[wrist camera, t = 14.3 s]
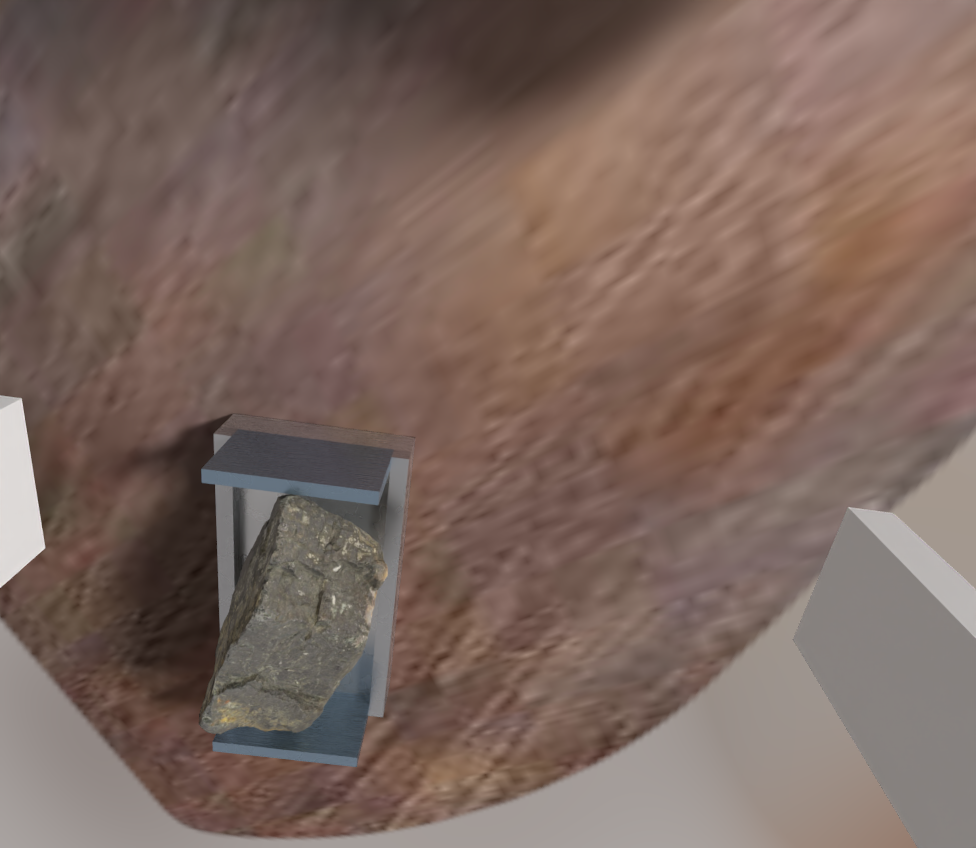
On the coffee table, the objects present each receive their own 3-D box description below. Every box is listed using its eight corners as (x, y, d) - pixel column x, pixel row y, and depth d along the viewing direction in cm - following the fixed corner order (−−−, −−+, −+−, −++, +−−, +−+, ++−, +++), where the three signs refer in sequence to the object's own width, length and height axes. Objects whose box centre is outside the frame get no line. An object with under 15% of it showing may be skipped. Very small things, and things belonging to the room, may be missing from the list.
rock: (372, 742, 41) (201, 763, 38) (364, 646, 46) (213, 658, 43) (404, 572, 30) (171, 584, 28) (390, 472, 35) (192, 473, 33)
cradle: (233, 413, 39) (181, 466, 32) (415, 437, 39) (398, 494, 33) (238, 666, 47) (196, 749, 40) (389, 683, 47) (372, 768, 41)
